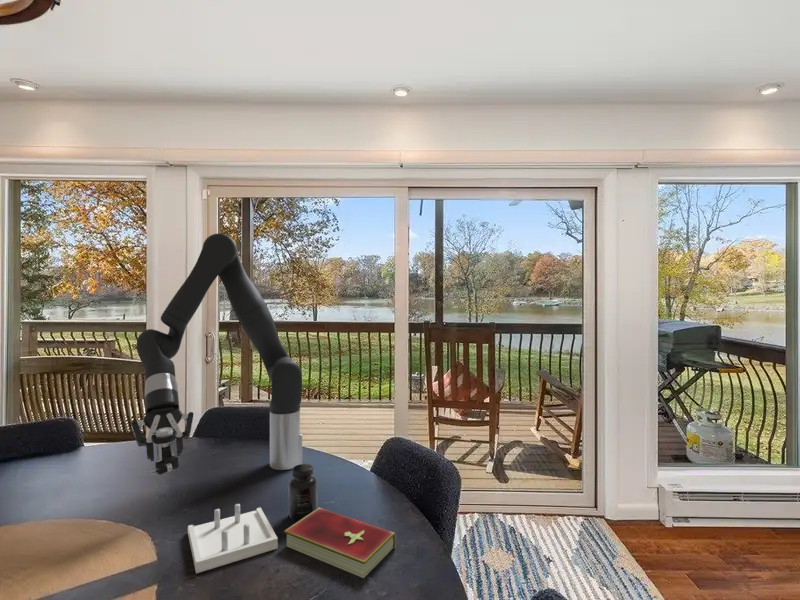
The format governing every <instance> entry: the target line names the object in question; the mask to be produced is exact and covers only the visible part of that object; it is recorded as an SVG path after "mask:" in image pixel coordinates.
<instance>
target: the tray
mask: <svg viewBox="0 0 800 600" xmlns="http://www.w3.org/2000/svg"><path fill="white" fill-rule="evenodd" d="M213 512H214V513H213V514H214V517H213V519H214V520H213V521H210V522H206V523H202V524H198V525H194V524H189V525H188V526H187V536H188V540H189V541H188V542H189V546H190V550H191V555H192V560H193V566H194V570H195V574H200V573H202V572H205V571H209V570H212V569H216V568H219V567H222V566H225V565H228V564H232V563H235V562H239V561H241V560H244V559H248V558H251V557H254V556H257V555H261V554H264V553H266V552H270V551H273V550H277V549H278V548H279V544H278V543H279V537H278V536H277V535H276V533H275V531H274V529H273V526H272V525H271V523H270V521H269V520H268V518H267V516H266V515H265V513H264V511H263V509H262V507H260V506H259V507H257V508H256V510H251V511H248V512H244V513H241V504H240V503H235V504H234V515H233V516H229V517H225V518H222V519H221V509H220V508H216V509H214V510H213Z"/></svg>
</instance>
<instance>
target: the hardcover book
mask: <svg viewBox="0 0 800 600" xmlns="http://www.w3.org/2000/svg"><path fill="white" fill-rule="evenodd" d="M283 533H284V534H286V548H290V549H292V550H294V551H297V552H299V553H301V554H304V555H307V556H309V557H311V558H314V559H316V560H319V561H321V562H323V563H326V564H329V565H330V566H333V567H335V568H338V569H340V570H343V571H345V572H347V573H350V574H353V575H355V576H357V577H360V578H361V579H365V577H367V576H368V575H369V574H370V573H371V572H372V570H373V569H374V568H376V566H377V565H379V563H380V562H381V561H383V559H384V558H385V557H386V556H387V555H388V554H389V553H390V552H392V550H394V549H396V545H397V542H396V541H397V540H396V539H397V537H396V533H395V532H394V531H390V530H387V529H384V528H383V527H382V528H381V527H379V526H376V525H372V524H370V523H366V522H364V521H360V520H357V519H355V518H352V517H349V516H346V515H342V514H340V513H338V512H334V511H332V510H328V509H326V508H325V509H324V508H323V507H317V509H316V510H314V511H313V512H311V513H310V514H308V515H307V516H306V517H304V518H303V519H301V520H300V521H298V522H295V523H294V524H292V525H291V526H289V527H288V528H286V529H285V530H283Z"/></svg>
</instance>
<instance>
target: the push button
mask: <svg viewBox="0 0 800 600" xmlns="http://www.w3.org/2000/svg"><path fill="white" fill-rule="evenodd" d="M176 434H177V431H174V430H172V428H171V427H165V428H160V429H158V430H156V431H155V435H152V436H151V438H152V439H153V444H155V445H156V454H157V455H156V456H157V457H156V458H157V459H156V461H155V462H154V464H153V465H154V468H152V469H149V472H150V474H149V476H153V475H162V474H165V473H167V472H168V473H169V472H171V471H172V470H174V469H175V470H177V469H178V468H179V465H180V464H179V456H175V455H176V454H175V452H174V441H176Z"/></svg>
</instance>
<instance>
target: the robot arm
mask: <svg viewBox="0 0 800 600" xmlns="http://www.w3.org/2000/svg"><path fill="white" fill-rule="evenodd" d="M237 247H238V246H237V243H236V242H235V240H234V239H233V238H232V237H231V236H230V235H228V234H225V233H219V232H218V233H213V234H211V235H209V236H207V237H206V238H205V240H204V241H203V243H202V248H201V250H200V253H199V256H198V258H197V259H196V260H197V261H196V262H195V264H194V265H193V268H192V270H191V272H190V273H189V275H188V276H187V278H186V279H185V281H184V282H183V283H182V284H181V286H180V288H179V289H178V290H177V291H176V292H175V294H174V295H173V297H172V299H171V300H170V302H169V303H168V304H167V306H166V308H165V309H164V311H163V312H162V314H161V315H160V321H161V322H162V323H163V324H164V325H166V326H168V327H169V329H168V333H165V332H162V331H160V330H157V329H153V328H151V329H145V330H143V331H142V332H141V333H140V334H139V335H138V337H137V340H136V351H137V355H138V357H139V360H140V362H141V364H142V368H143V369H144V379H145V380H144V381H145V385H144V405H145V407H144V408H145V409H144V412H145V415H144V418H143V419H141V420H138V421H137V420H132V421H131V430H132V433H133V436H134V438H135V441H136V444H137V446H138V447H139V448H140V447H145V448H146V459H147V460H150V462H154V461H155V453H154V452H155V451H154V450H155V449H154V443H153V439H152V438H151V436H152V435H155V431H156V430H158V429H160V428H165V427H171V428H172V430H174V431H177V434H176V439H175V450H176V457H180V456H181V454H183V452H184V443H183V442H184V440H185V439H190V437H191V432H192V431H191V430H192V427H193V426H192V425H193V419H194V412H192V411H190V412H188V413H182V411H181V410H180V401H179V400H180V399H179V389H178V382H177V379H176V368H175V363H174V362H173V361H172V360H171V359H173V358H174V357H175V356H176V355H177V354H178V352H179V351H180V348H181V344H182V342H183V341H182V340H183V337H184V334H185V331H186V328H187V326H188V324H189V323H190V321H191V320H192V318H193V317H194V315H195V314H196V312H197V310H198V308H199V307H200V305H201V303H202V302H203V300H204V298H205V296H206V294H207V293H208V290H209V289H210V287H211V286H212V284H213V282H214V281H215V280H216V278H217V277H219V279H220V281H221V283H222V284H223V286H224V289H225V292H226V295H227V298H228V300H229V303H230V305H231V307H232V311H233V312H234V314H235V317H236V318H237V320H238V322H239V324H240V326H241V328H242V330H243V331H244V333H245V334H246V336H247V337H248V339H249V341H250V342H251V343H252V344H253V346H254V348H256V350H257V353H259V356H260V358H261V360H262V363H263V365H264V368H265V370H266V374H267V376H268V379H269V381H270V383H271V387H270V388H271V389H270V390H271V395H270V396H271V398H270V402H269V467H270V468H271V469H273V470H275V471H276V470H277V471H287V470H293V467H295V466H297V465H300V464H303V434H302V433H301V403H302V399H303V398H302V395H303V372H302V369H301V367H300V366H299V364H298V363H296V362H295V361H294V360H293V359H292V358H291V356H290V355H289V354H288V352H287V351H286V349H285V347H284V345H283V344H282V342H281V340H280V338H279V334H278V331H277V327H276V324H275V321H274V318H273V316H272V313H271V312H270V311H271V310H269V308H268V305H267V303H266V302H265V300H264V297H263V296H262V294H261V293H260V291H259V290H258V288H257V287H256V286H255V284H254V282H252V280H251V279H250V277H249V276H248V274H247V272H246V270H245V268H244V266H243V264H242V263H243V262H241V258H240V256H239V254H238V253H239V252H238V249H237ZM181 420H183V423H185V424H186V425H185V428H184V431H181V430H180V426H179V425H178V424H179V423H180V422H181ZM144 425H145V426H146V427H147V428H148V429H149V432H148V435H147V438H144V436H143V434H142V431H141V430H143V426H144Z"/></svg>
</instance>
